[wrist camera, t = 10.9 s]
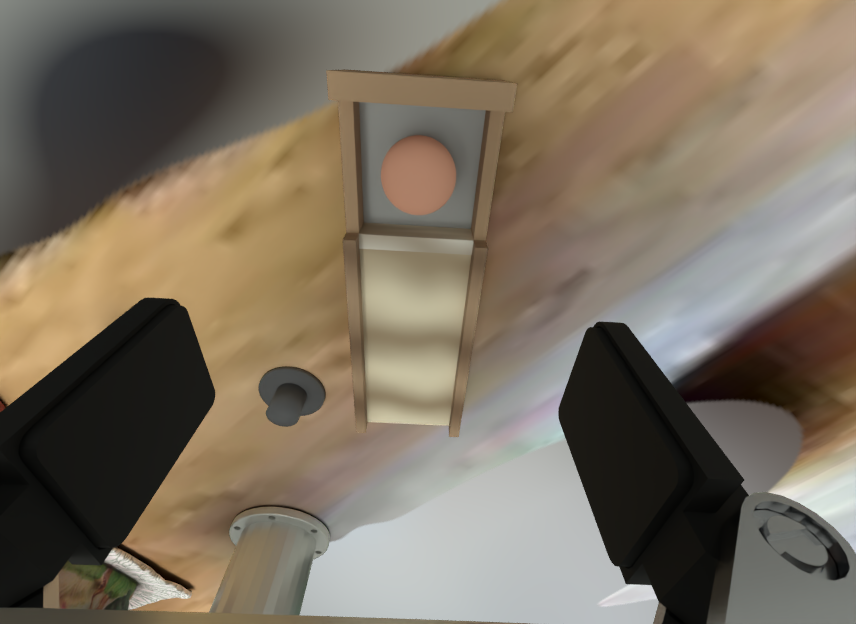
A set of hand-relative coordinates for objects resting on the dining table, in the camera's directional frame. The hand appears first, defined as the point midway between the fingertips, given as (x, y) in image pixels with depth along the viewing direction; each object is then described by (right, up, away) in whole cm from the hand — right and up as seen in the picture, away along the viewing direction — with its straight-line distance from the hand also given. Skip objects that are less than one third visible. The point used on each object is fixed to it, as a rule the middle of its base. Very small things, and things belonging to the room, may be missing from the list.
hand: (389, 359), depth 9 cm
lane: (0, 0, +22) cm, 22 cm away
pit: (0, +10, +15) cm, 18 cm away
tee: (-12, -6, +26) cm, 29 cm away
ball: (0, +10, +15) cm, 18 cm away
